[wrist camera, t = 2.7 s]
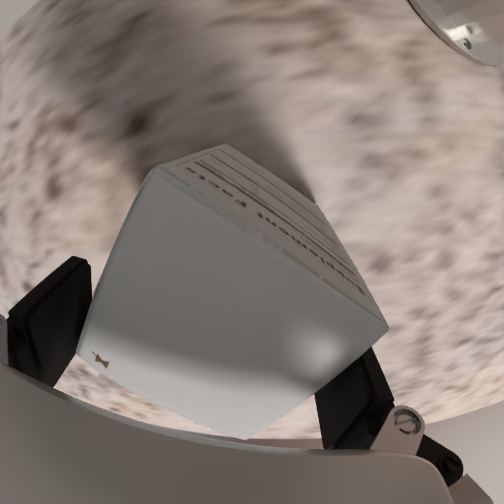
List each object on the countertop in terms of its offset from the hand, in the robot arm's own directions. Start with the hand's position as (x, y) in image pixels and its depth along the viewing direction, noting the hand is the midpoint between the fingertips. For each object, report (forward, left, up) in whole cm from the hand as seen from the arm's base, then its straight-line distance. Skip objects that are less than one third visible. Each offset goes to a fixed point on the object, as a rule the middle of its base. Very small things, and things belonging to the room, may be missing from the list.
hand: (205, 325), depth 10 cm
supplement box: (-1, 0, -10) cm, 10 cm away
